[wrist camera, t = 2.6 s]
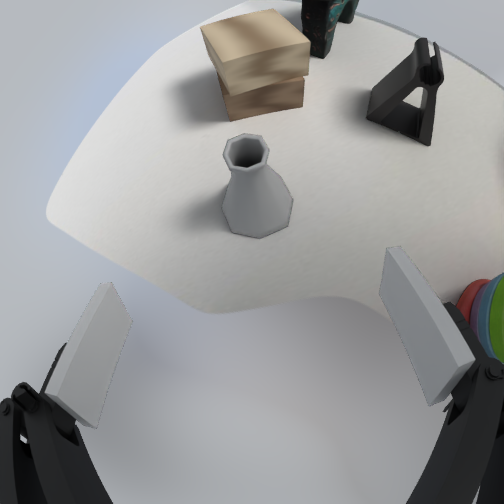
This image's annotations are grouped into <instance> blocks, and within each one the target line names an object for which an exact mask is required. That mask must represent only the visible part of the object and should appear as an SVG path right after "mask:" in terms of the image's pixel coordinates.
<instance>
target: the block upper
mask: <svg viewBox="0 0 504 504" xmlns="http://www.w3.org/2000/svg"><path fill="white" fill-rule="evenodd" d="M200 29H201V32H202V35H203V39H204V42H205V45H206V49H207V52H208V55H209V57H210V59H211V61H212V63H213V65H214V66H215V68H216V70H217V72H218V74H219V75H220V77H221V79H222V81H223V83H224V85H225V87H226V88H227V90H228V92H229V94H230V96H231V97H232V96H235V95H238V94H241V93H244V92H247V91H250V90H253V89H256V88H260V87H263V86H267V85H270V84H274V83H278V82H281V81H285V80H289V79H293V78H298V77H302V76H307V75H308V72H309V58H310V43H311V42H310V41H309V40H308V39H307V38H306V37H305V36H304V35H303V34H302V33H301V32H300V31H299V30H298V29H297V28H295V27H294V26H293V25H292V24H291V23H290V22H289V21H288V20H286V19H285V18H284V17H283V16H282V15H281V14H279V13H278V12H277V11H276V10H274V9H268V10H263V11H258V12H253V13H248V14H244V15H240V16H236V17H232V18H228V19H224V20H221V21H217V22H214V23H210V24H207V25H204V26H201V27H200Z"/></svg>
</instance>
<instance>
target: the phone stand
mask: <svg viewBox="0 0 504 504" xmlns="http://www.w3.org/2000/svg"><path fill="white" fill-rule="evenodd" d="M433 45H434V51H435V55H434V56H432V57H430V55H429V47H428V41H427V38H420V39H418V40H417V41H416V42H415V46H414V50H413V51H412V53H411V54H410V55H409V56H408V57H406V58H405V59H404V60H403V61H402V62H401V63H400V64H399V65H398V66H396V67H395V68H394V69H393V70H392V71H391V72H390V73H389V74H388V75H386V76H385V77H384V78H383V79H382V80H381V81H380V82H379V83H378V84H377V85H376V86H374V87H373V88H372V93H371V98H370V103H369V108H368V112H367V117H366V118H367V119H368V120H370V121H373V122H375V123H378V124H380V125H383V126H385V127H387V128H390V129H392V130H394V131H397V132H398V131H399V132H400V133H401V134H404V135H406V136H408V137H410V138H412V139H414V140H416V141H418V142H421V143H423V144H425V145H427V146H430V145H431V139H432V132H433V124H434V115H435V105H436V94H437V90H438V88H439V86H440V85H441V84H442V83H443V81H444V74H443V67H442V61H441V56H440V51H439V47H438V45H437V44H436V43H435V42H433ZM417 87H423V94H422V100H421V107H420V108H417V107H415V106H412V105H410V104H408V103H406V102H404V101H403V100H404V99H405V98H406V97H407V96H408V95H409V94H410V93H411V92H412V91H413V90H414V89H415V88H417Z"/></svg>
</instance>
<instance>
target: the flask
mask: <svg viewBox="0 0 504 504" xmlns="http://www.w3.org/2000/svg"><path fill="white" fill-rule="evenodd" d="M269 151H270V150H269V148H268V146H267V144H266V142H265V141H264V139H263V137H262V136H260V135H253V134H245V133H244V134H241V135H239V136H236V137H234V138H232V139H229V140H228V141H227V143H226V146H225V149H224V152H223V157H224V159H225V161H226V164H227V166H228V168H229V170H230V171H231V179H230V181H229V184H228V188H227V191H226V194H225V198H224V201H223V205H222V210H223V212H224V215H225V217H226V219H227V222H228V224H229V226H230V229H231V231H232V233H237V234H242V235H247V236H252V237H257V238H263V237H265V236H267V235H269V234H272V233H274V232H276V231H278V230H281V229H283V228H285V227H288V223H289V218H290V214H291V209H292V204H293V198H292V196H291V194H290V192H289V190H288V189H287V187H286V185H285V183H284V181H283V179H282V178H281V176H280V175H279V174H278V173H276V172H275V171H274V170H273V169H272V168H271V167H270V166H269V165H267V158H268V154H269Z"/></svg>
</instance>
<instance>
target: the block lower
mask: <svg viewBox="0 0 504 504" xmlns="http://www.w3.org/2000/svg"><path fill="white" fill-rule="evenodd" d="M216 71H217V70H216ZM217 75H218V79H219V82H220V86H221V90H222V94H223V98H224V101H225V105H226V109H227V112H228V116H229V119H230V122H232V121H236V120H240V119H244V118H248V117H253V116H257V115H262V114H267V113H272V112H277V111H282V110H288V109H294V108H300V107H303V97H304V82H305V80H304V78H303V76H302V77H298V78H293V79H289V80H285V81H281V82H278V83H274V84H270V85H267V86H263V87H260V88H256V89H253V90H250V91H247V92H244V93H241V94H238V95H235V96H232V97H231V96H230V94H229V92H228V90H227V88H226V87H225V85H224V83H223V81H222V79H221V77H220V75H219V74H218V72H217Z"/></svg>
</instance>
